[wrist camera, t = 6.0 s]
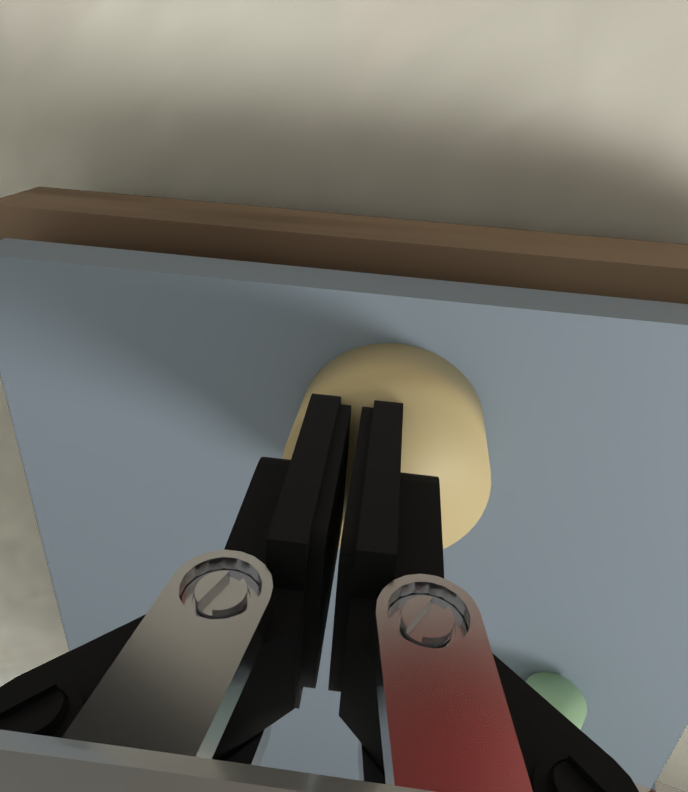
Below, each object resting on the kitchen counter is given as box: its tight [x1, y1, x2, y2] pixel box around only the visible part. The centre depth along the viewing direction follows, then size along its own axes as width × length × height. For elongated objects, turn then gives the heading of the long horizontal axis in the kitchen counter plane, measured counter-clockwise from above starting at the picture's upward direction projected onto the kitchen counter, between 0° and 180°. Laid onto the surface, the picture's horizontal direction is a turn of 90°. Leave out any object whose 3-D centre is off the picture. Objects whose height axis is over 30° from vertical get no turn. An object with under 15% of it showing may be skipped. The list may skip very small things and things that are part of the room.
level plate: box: [0, 238, 688, 789], centre depth 16 cm, size 19×18×3 cm
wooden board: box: [0, 187, 688, 304], centre depth 20 cm, size 20×20×4 cm
